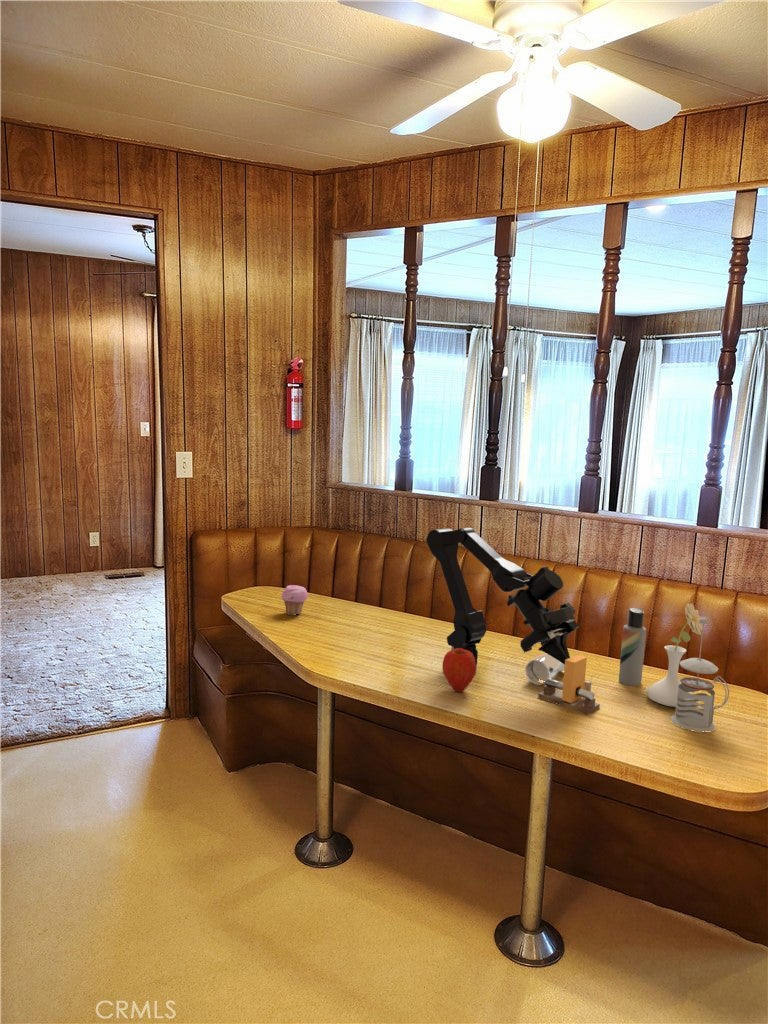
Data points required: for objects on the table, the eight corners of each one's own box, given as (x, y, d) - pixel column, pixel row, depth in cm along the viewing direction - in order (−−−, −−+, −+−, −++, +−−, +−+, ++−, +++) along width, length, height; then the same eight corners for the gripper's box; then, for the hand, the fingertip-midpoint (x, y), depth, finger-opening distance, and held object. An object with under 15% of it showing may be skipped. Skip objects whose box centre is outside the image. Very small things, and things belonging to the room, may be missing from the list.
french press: (679, 710, 165) (689, 609, 162) (730, 726, 157) (742, 620, 154) (663, 722, 158) (673, 616, 155) (716, 739, 150) (728, 628, 147)
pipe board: (538, 697, 170) (539, 677, 169) (554, 689, 175) (556, 670, 175) (587, 714, 160) (588, 694, 160) (603, 706, 166) (604, 686, 165)
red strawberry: (437, 684, 175) (440, 643, 174) (470, 684, 176) (473, 643, 175) (444, 697, 167) (446, 654, 166) (478, 697, 168) (481, 654, 166)
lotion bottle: (634, 678, 186) (640, 606, 184) (645, 686, 181) (652, 612, 178) (614, 678, 185) (621, 606, 183) (625, 686, 180) (632, 612, 177)
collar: (561, 699, 165) (565, 659, 164) (574, 693, 169) (577, 654, 168) (570, 703, 163) (574, 662, 162) (583, 696, 168) (586, 657, 166)
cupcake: (282, 610, 238) (283, 581, 236) (307, 610, 238) (308, 582, 237) (280, 617, 229) (280, 587, 228) (306, 618, 229) (307, 588, 228)
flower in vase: (671, 714, 163) (682, 612, 160) (635, 696, 173) (644, 599, 170) (710, 707, 169) (721, 607, 165) (672, 690, 179) (682, 596, 176)
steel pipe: (545, 686, 170) (545, 678, 170) (549, 684, 172) (549, 677, 172) (590, 701, 162) (591, 693, 162) (594, 699, 163) (594, 691, 163)
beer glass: (546, 668, 192) (523, 681, 180) (549, 644, 191) (526, 655, 179) (570, 675, 188) (548, 689, 176) (573, 650, 187) (551, 663, 175)
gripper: (534, 598, 161) (573, 656, 155) (574, 588, 175) (611, 640, 168) (504, 623, 168) (540, 680, 161) (545, 611, 181) (580, 663, 175)
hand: (569, 665), depth 166 cm, fingers closed, pressing on collar
